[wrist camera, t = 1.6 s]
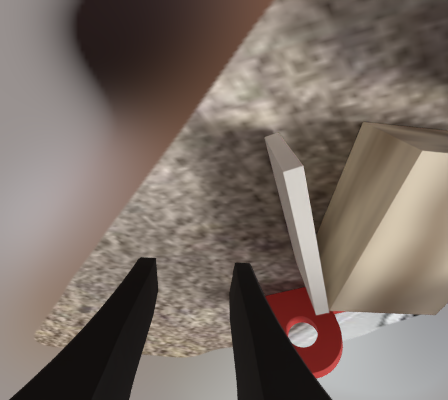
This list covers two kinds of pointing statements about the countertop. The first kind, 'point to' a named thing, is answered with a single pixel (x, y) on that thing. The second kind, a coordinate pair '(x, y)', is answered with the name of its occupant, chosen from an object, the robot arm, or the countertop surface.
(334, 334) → the bracket
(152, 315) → the robot arm
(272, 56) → the countertop surface
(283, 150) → the door
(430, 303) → the cream rectangular block
